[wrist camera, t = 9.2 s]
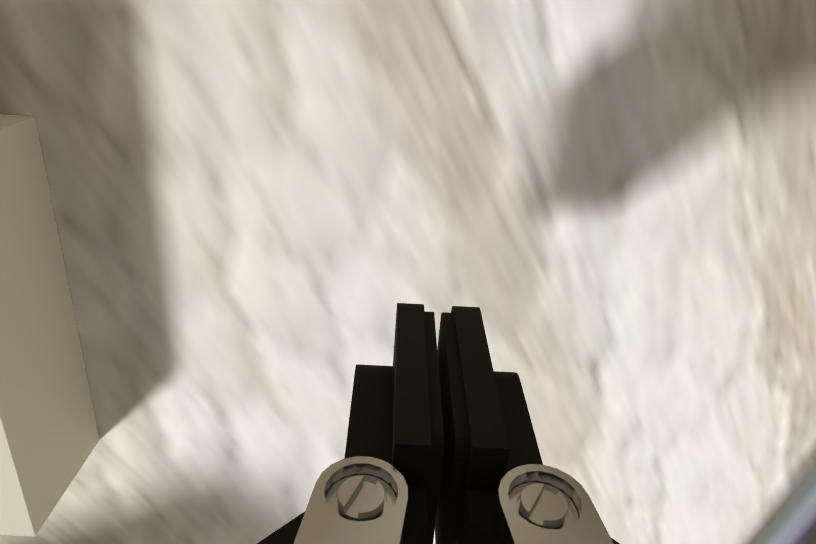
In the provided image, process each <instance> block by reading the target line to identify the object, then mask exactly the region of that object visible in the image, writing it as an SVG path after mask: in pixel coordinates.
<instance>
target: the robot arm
mask: <svg viewBox="0 0 816 544" xmlns="http://www.w3.org/2000/svg"><path fill="white" fill-rule="evenodd" d="M434 530H435V539H436V544H619V543H618V542H616V541H615V540H614V539H612V538H611V537H610V535H609V533H608V532H607V530H606V528H605V526H604V524H603V522H602V520H601V518H600V516H599V514H598V512H597V510H596V509H595V507H594V505H593V503H592V501H591V499H590V497H589V495H588V494H587V492H586V491H585V490H584V488H583V487H582V485H581V484H580V483H579V482H577V481H576V480H575V479H574V478H573V477H571V476H570V475H568V474H567V473H565V472H563V471H561V470H559V469H557V468H553V467H550V466H546V465H543V463H542V460H541V456H540V452H539V449H538V445H537V441H536V438H535V434H534V430H533V426H532V423H531V419H530V415H529V412H528V408H527V404H526V400H525V397H524V393H523V389H522V386H521V382H520V379H519V376H518V374H517V373H514V372H495V371H493V367H492V363H491V358H490V353H489V348H488V344H487V339H486V334H485V330H484V325H483V320H482V315H481V311H480V308H479V307H461V306H453V307H452V310H451V313H442V314H441V321H440V330H439V340H438V349H437V343H436V330H435V318H434V312H424V305H423V304H405V303H397V313H396V328H395V344H394V359H393V366H376V365H356V369H355V376H354V385H353V393H352V401H351V410H350V418H349V427H348V435H347V443H346V452H345V459H342V460H340V461H338V462H336V463H334V464H332V465H330V466H329V467H328V468H327V469H326V470H325V471H323V472H322V473H321V475H320V477H319V478H318V480H317V482H316V484H315V486H314V489H313V492H312V495H311V497H310V500H309V503H308V506H307V508H306V511H305V512H304V513H302V514H301V515H299V516H298V517H296V518H295V519H293V520H292V521H290V522H289V523H287V524H286V525H284V526H283V527H281V528H280V529H278V530H277V531H275V532H274V533H272V534H271V535H269V536H268V537H266V538H265V539H263V540H262V541H260V542H259V543H257V544H433V538H434Z"/></svg>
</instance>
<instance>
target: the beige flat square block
mask: <svg viewBox="0 0 816 544" xmlns="http://www.w3.org/2000/svg"><path fill="white" fill-rule="evenodd" d="M99 440H100V438H99V433H98V428H97V423H96V419H95V414H94V409H93V404H92V399H91V394H90V389H89V384H88V379H87V374H86V369H85V364H84V359H83V354H82V349H81V344H80V339H79V334H78V329H77V324H76V319H75V314H74V310H73V305H72V300H71V295H70V290H69V285H68V280H67V275H66V270H65V265H64V260H63V255H62V250H61V245H60V240H59V235H58V230H57V225H56V220H55V215H54V210H53V205H52V201H51V196H50V191H49V186H48V181H47V176H46V171H45V166H44V161H43V156H42V151H41V146H40V141H39V136H38V131H37V126H36V121H35V116H20V115H5V114H0V535H19V536H36V534H37V533H38V531H39V530H40V528H41V527H42V525H43V524H44V522H45V521H46V519H47V518H48V516H49V515H50V513H51V512H52V510H53V509H54V507H55V506H56V504H57V503H58V501H59V500H60V498H61V497H62V495H63V494H64V492H65V491H66V489H67V488H68V486H69V485H70V483H71V482H72V480H73V479H74V477H75V476H76V474H77V473H78V471H79V470H80V468H81V467H82V465H83V464H84V462H85V461H86V459H87V458H88V456H89V455H90V453H91V452H92V450H93V449H94V447H95V446H96V444H97V443H98V441H99Z"/></svg>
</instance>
